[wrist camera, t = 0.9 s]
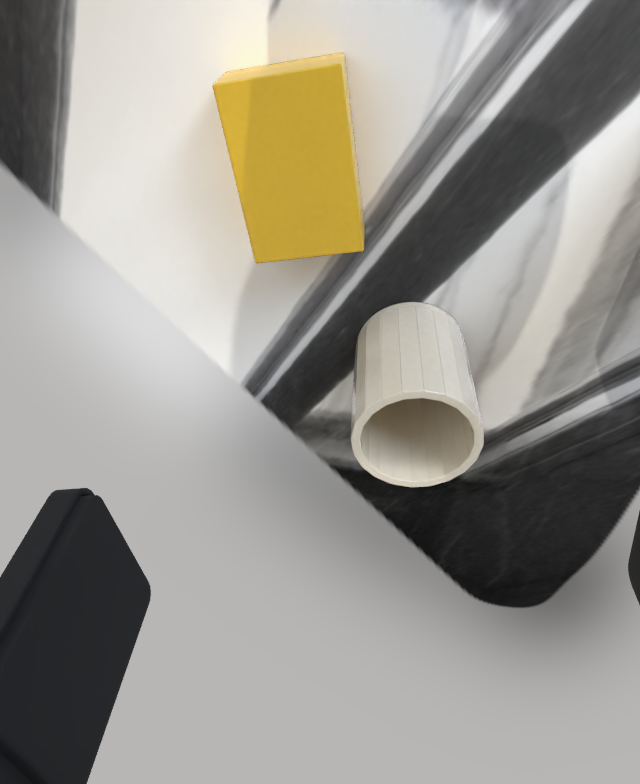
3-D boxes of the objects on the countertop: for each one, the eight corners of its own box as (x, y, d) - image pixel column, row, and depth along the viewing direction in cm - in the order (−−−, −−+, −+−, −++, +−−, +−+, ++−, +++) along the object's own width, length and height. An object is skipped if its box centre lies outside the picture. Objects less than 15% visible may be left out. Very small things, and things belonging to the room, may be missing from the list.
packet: (224, 71, 29) (211, 84, 27) (344, 51, 28) (341, 62, 26) (263, 241, 35) (255, 264, 32) (364, 229, 34) (363, 251, 31)
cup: (349, 307, 37) (343, 396, 30) (463, 296, 36) (484, 386, 29) (362, 393, 41) (359, 490, 34) (464, 386, 40) (482, 483, 33)
